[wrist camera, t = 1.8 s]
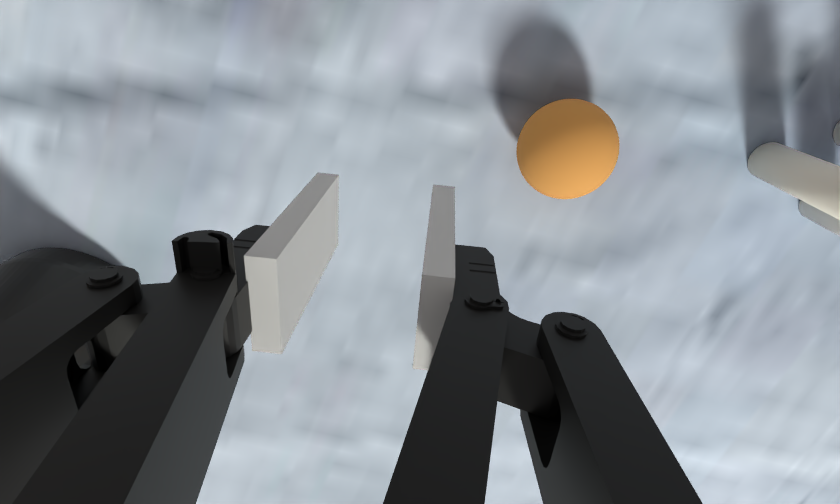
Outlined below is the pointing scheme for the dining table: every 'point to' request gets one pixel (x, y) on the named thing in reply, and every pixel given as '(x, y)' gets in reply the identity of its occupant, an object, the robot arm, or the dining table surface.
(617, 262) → the dining table surface
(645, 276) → the dining table surface
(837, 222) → the pin
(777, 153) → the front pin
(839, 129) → the pin
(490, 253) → the robot arm
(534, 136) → the ball
